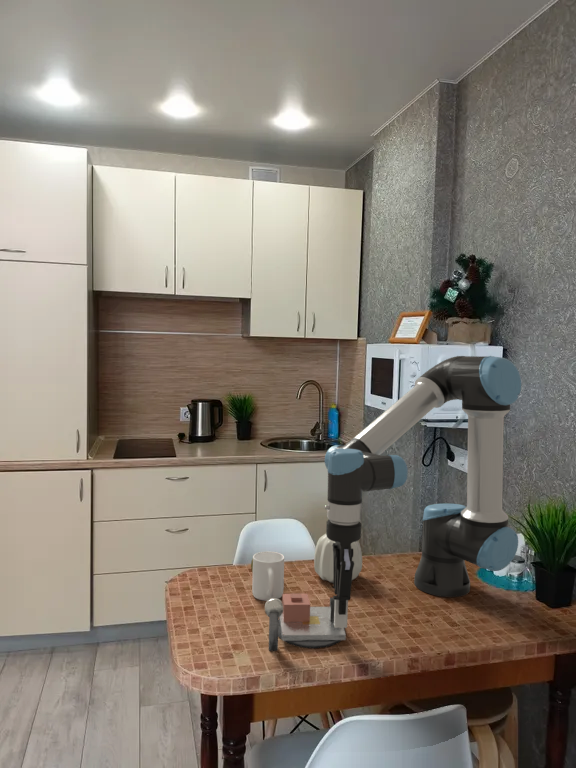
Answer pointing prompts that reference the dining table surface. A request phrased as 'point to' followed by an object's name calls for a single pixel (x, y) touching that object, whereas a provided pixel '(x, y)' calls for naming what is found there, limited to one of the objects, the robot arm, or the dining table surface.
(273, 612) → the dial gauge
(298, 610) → the cover
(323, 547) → the vase
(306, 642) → the turntable base
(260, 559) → the mug
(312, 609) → the turntable
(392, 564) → the dining table surface
